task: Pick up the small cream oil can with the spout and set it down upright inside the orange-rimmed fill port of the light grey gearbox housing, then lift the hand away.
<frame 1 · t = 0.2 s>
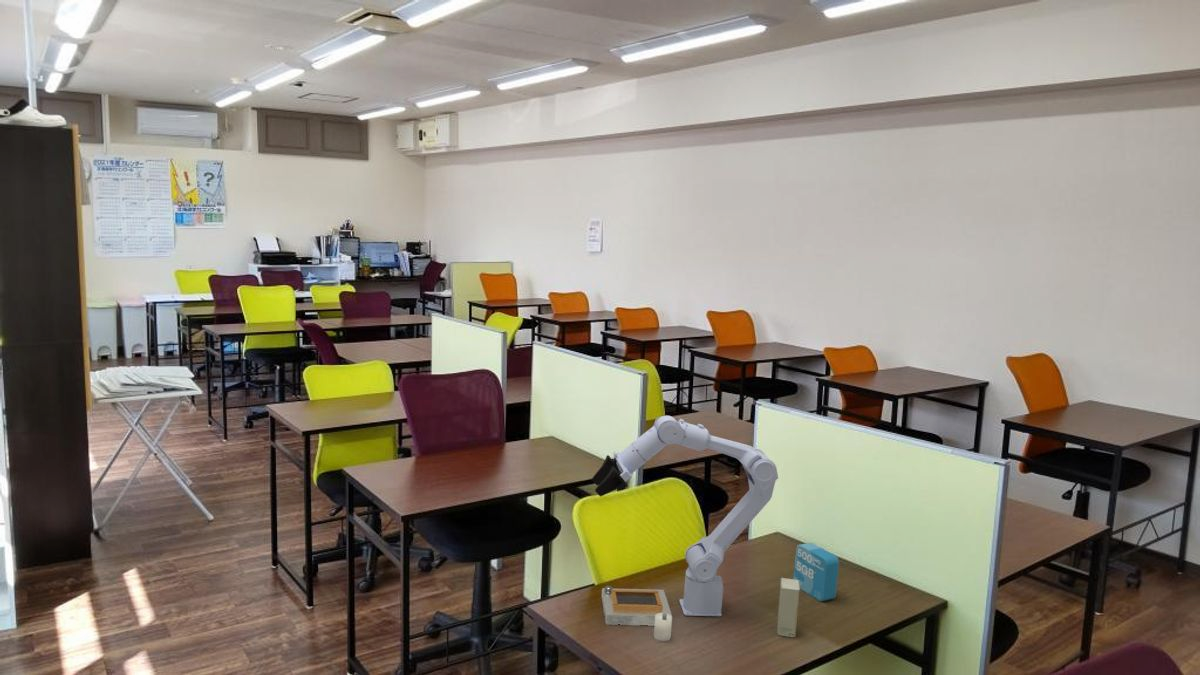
hand: (595, 487, 197), 31 cm above the table, tool tilted 50°, fingers open, 7 cm apart
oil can: (662, 636, 190), on the table
data package: (813, 592, 219), on the table
skincare box: (785, 631, 197), on the table
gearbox: (635, 611, 202), on the table
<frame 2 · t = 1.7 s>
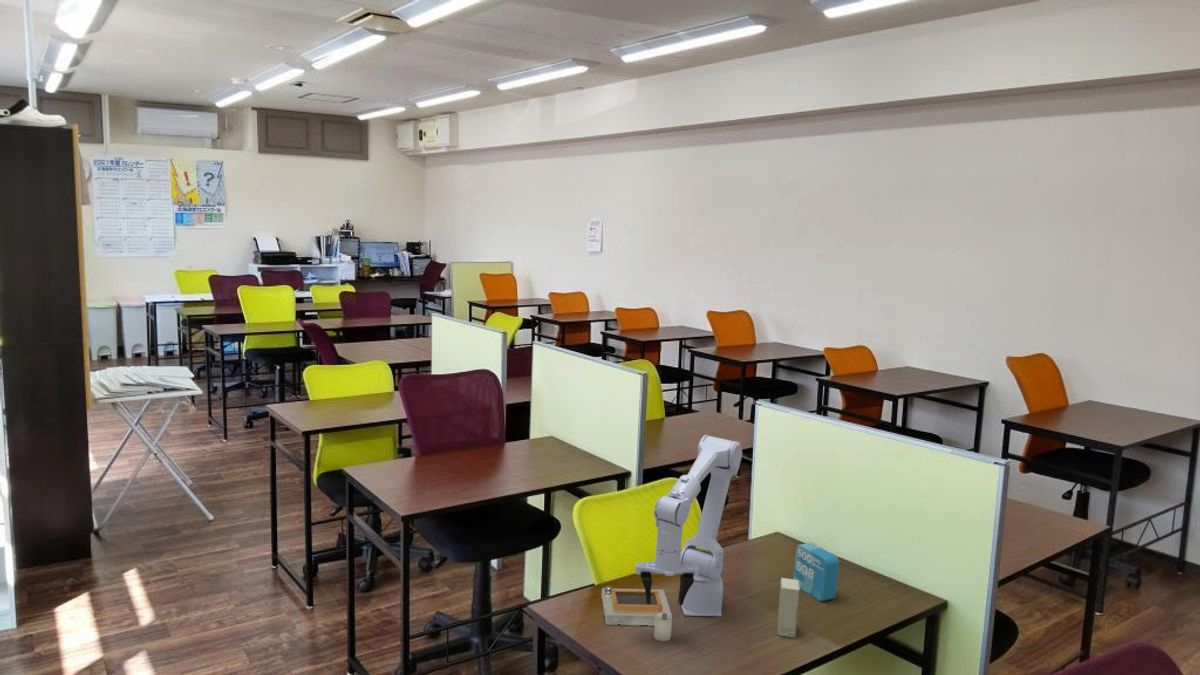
hand: (664, 602, 189), 8 cm above the table, tool pointing down, fingers open, 7 cm apart
nothing on the table moved.
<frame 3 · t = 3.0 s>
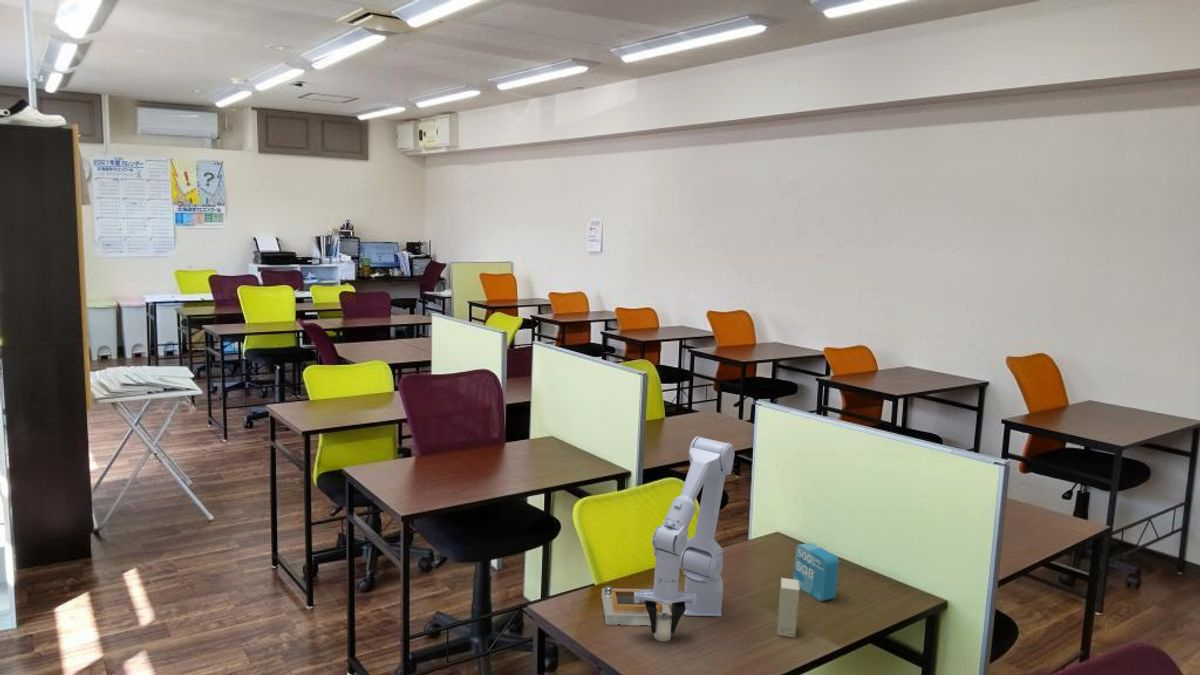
hand: (662, 631, 190), 1 cm above the table, tool pointing down, fingers closed on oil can, 4 cm apart
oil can: (662, 636, 190), on the table, touching gripper
everything else where it was.
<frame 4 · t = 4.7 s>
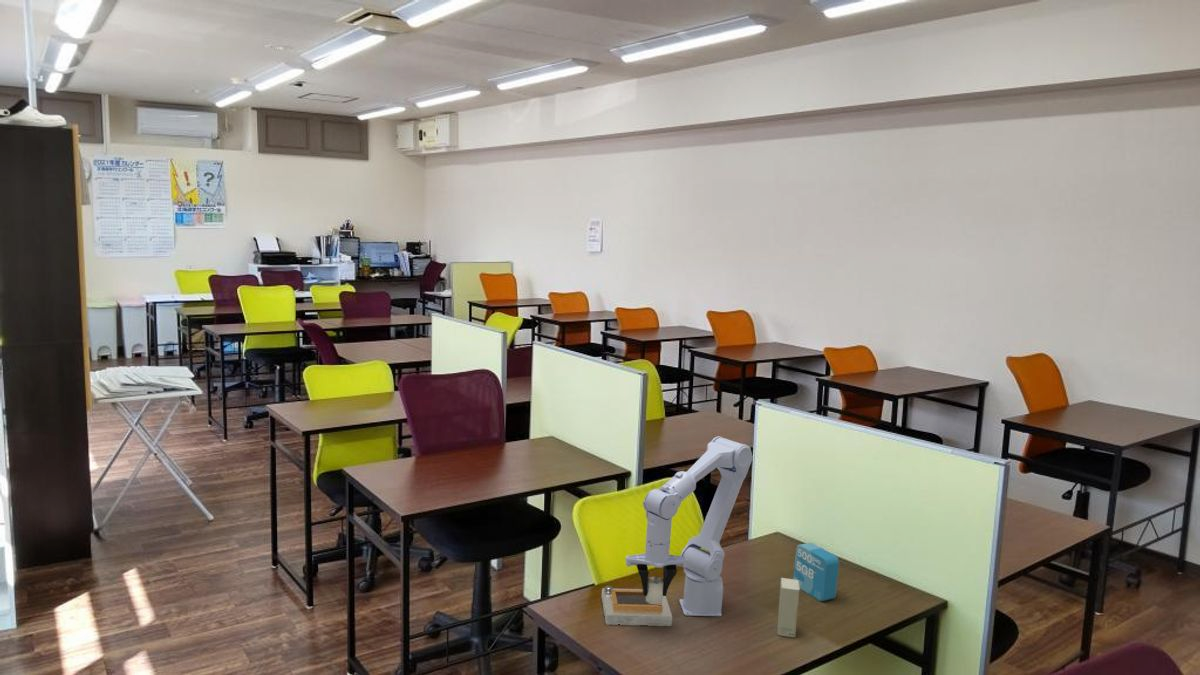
hand: (654, 594, 194), 8 cm above the table, tool pointing down, fingers closed on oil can, 4 cm apart
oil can: (654, 600, 194), point 7 cm above the table, touching gripper
everything else where it was.
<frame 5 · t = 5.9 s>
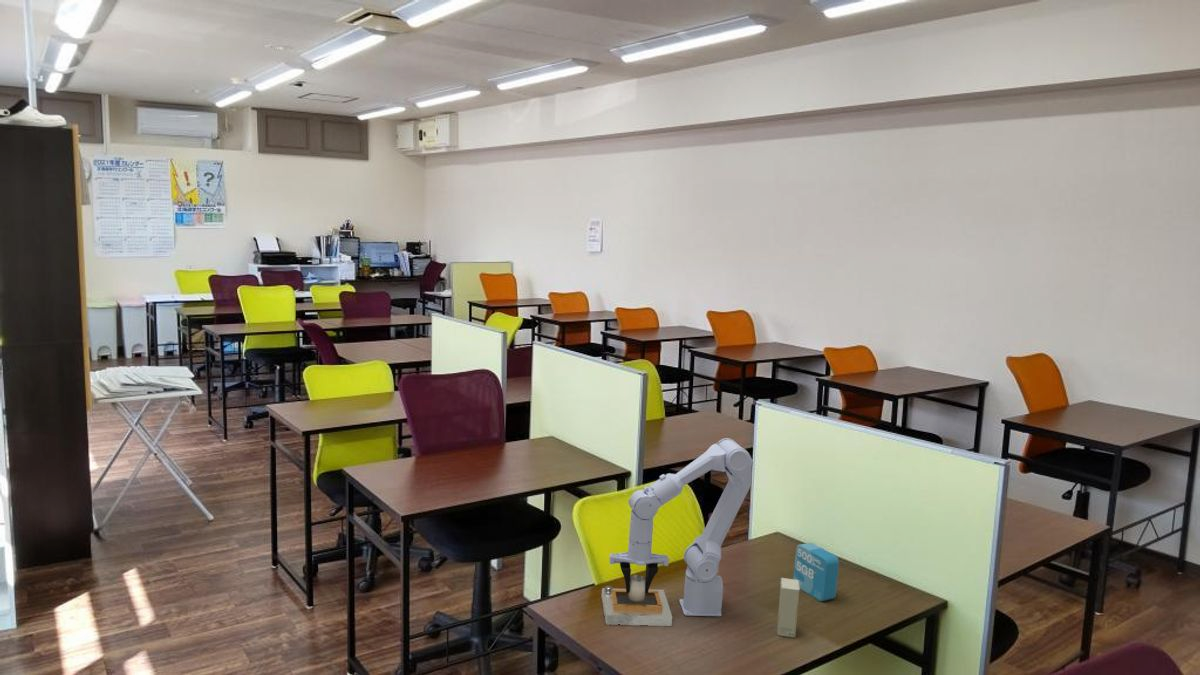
hand: (636, 591, 201), 5 cm above the table, tool pointing down, fingers closed on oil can, 4 cm apart
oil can: (636, 597, 201), point 4 cm above the table, touching gripper
everything else where it was.
when the fingers open (4 cm above the table, at t = 6.7 s): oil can drops 2 cm, resting on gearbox.
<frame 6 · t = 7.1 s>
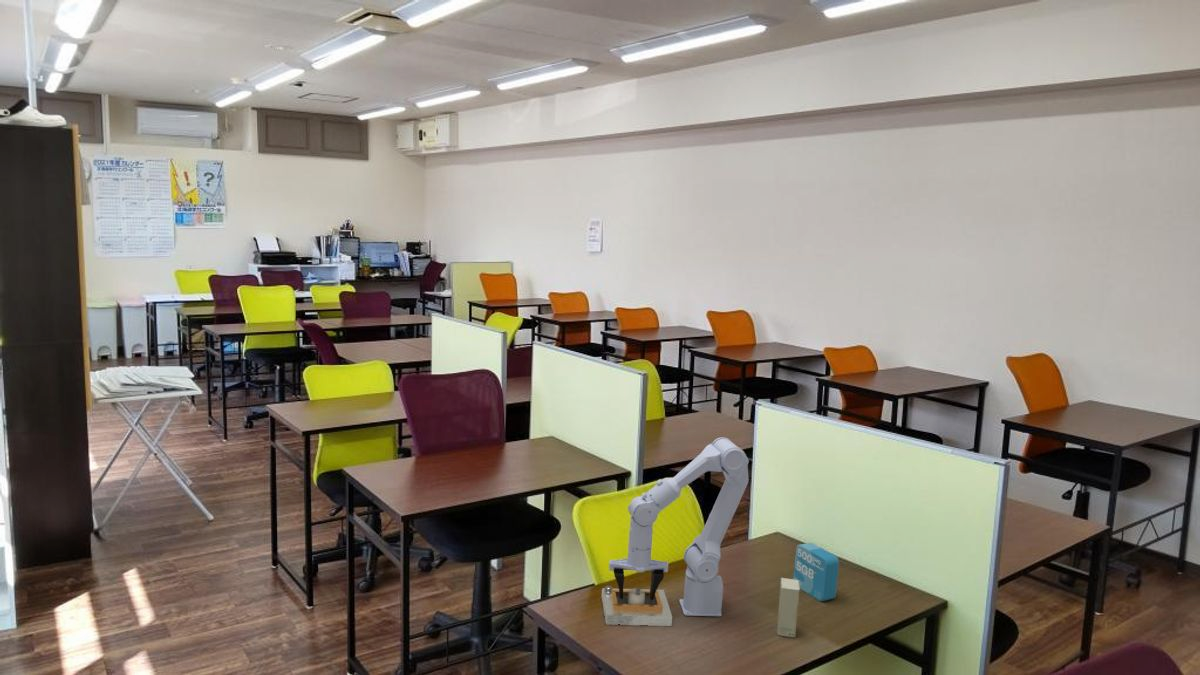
hand: (636, 597, 201), 4 cm above the table, tool pointing down, fingers open, 7 cm apart
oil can: (635, 611, 202), resting on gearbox
everything else where it was.
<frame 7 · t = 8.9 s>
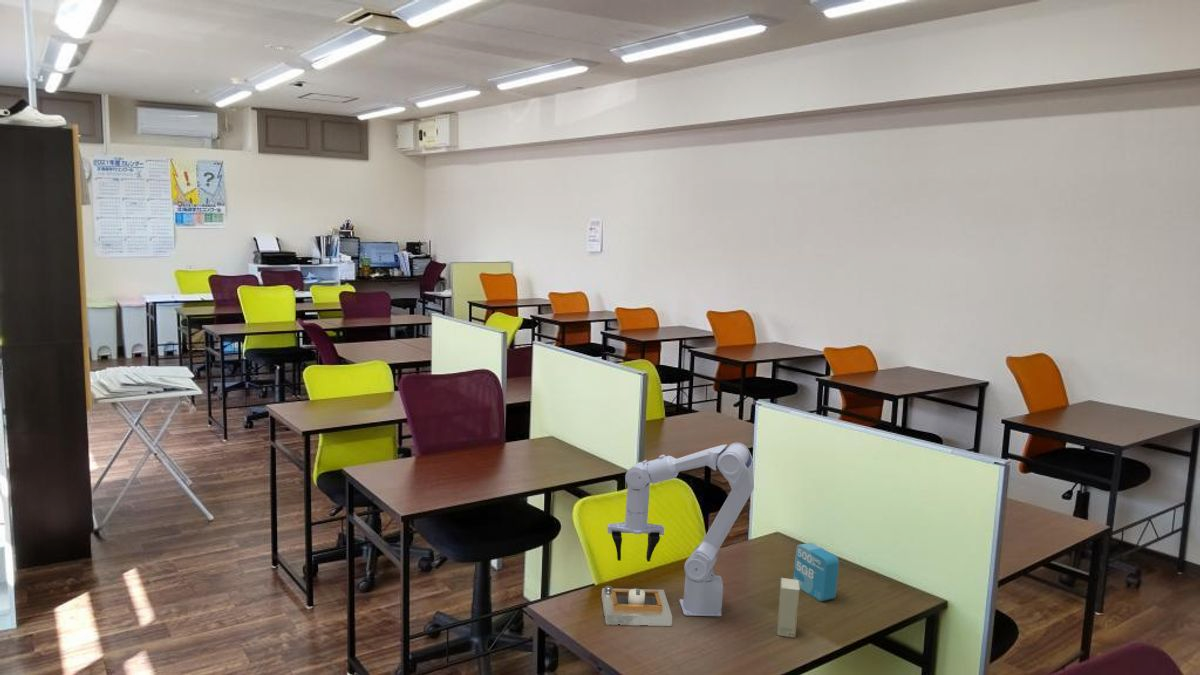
hand: (633, 559, 210), 9 cm above the table, tool pointing down, fingers open, 7 cm apart
nothing on the table moved.
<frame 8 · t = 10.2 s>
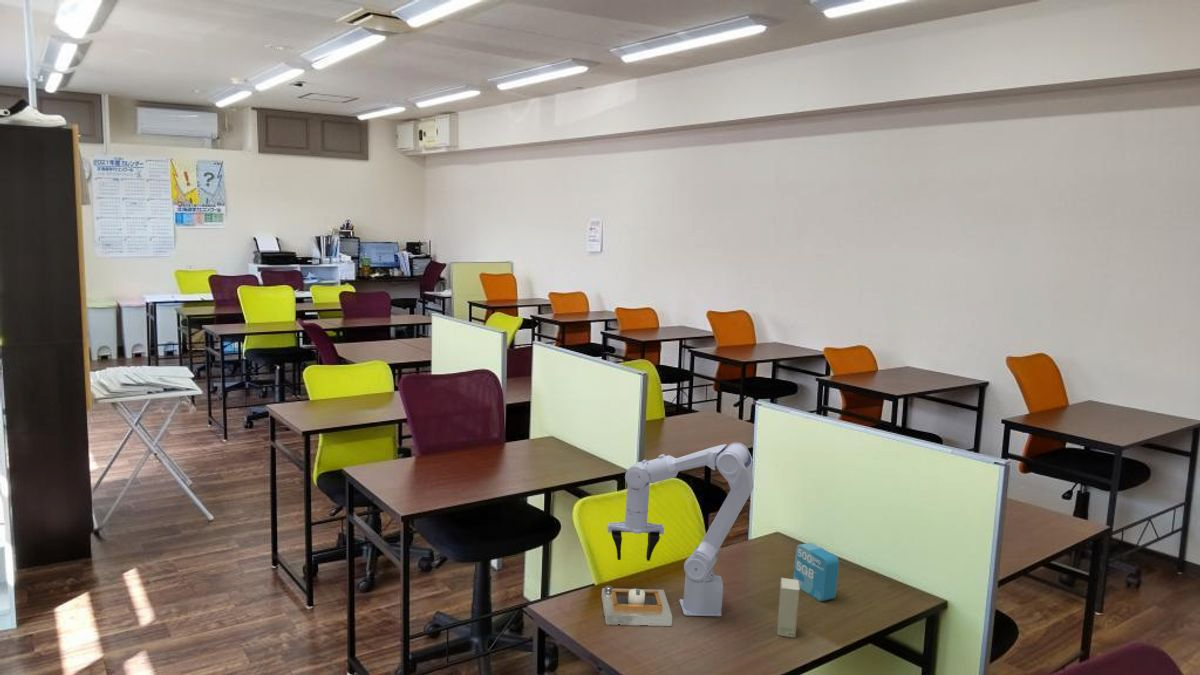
hand: (633, 558, 210), 9 cm above the table, tool pointing down, fingers open, 7 cm apart
nothing on the table moved.
at the end: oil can 0.3 cm off-centre on the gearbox, point 0.2 cm above the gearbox's base; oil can tilted 0°; the gripper is holding nothing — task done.
